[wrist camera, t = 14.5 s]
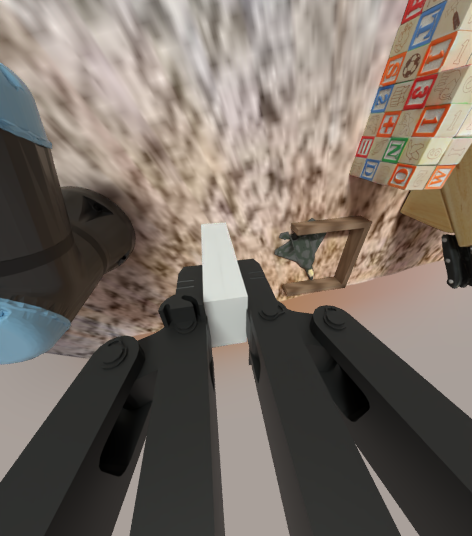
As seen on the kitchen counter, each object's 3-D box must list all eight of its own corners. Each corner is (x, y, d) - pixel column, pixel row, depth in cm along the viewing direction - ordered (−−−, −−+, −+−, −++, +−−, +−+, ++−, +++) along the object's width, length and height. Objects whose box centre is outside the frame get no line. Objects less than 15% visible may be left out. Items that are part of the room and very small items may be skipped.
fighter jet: (288, 288, 52) (294, 299, 48) (267, 238, 41) (273, 247, 38) (333, 268, 50) (343, 278, 47) (323, 210, 39) (334, 217, 36)
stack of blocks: (410, -15, 23) (569, -127, 13) (452, -9, 24) (632, -111, 14) (348, 175, 35) (405, 191, 26) (377, 175, 36) (442, 190, 26)
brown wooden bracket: (282, 287, 50) (287, 296, 47) (291, 223, 39) (298, 230, 36) (337, 279, 52) (344, 287, 49) (360, 215, 41) (372, 221, 38)
